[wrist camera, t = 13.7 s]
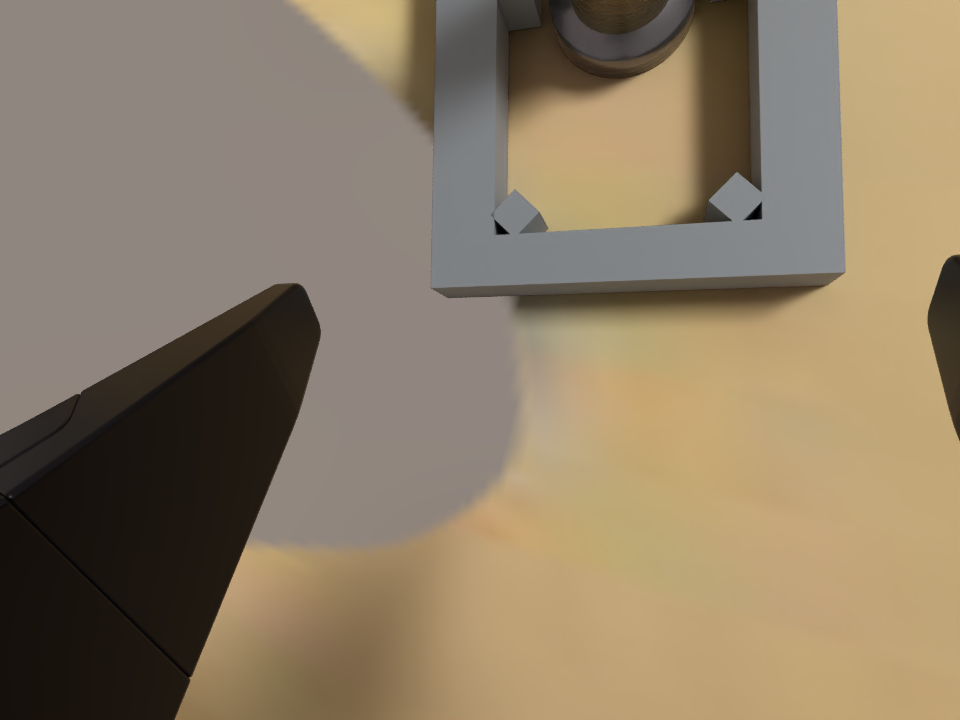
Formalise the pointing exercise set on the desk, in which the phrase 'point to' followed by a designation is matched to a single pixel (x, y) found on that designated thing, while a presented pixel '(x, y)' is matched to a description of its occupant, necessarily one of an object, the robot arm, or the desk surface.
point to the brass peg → (620, 33)
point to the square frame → (647, 249)
